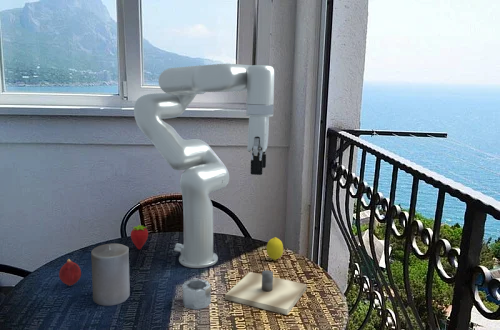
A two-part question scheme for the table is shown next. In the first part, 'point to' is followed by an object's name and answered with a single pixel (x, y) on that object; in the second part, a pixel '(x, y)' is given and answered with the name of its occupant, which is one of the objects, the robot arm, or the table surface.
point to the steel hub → (196, 294)
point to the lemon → (274, 248)
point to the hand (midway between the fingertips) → (258, 170)
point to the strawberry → (139, 236)
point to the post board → (267, 292)
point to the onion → (70, 273)
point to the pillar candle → (110, 274)
